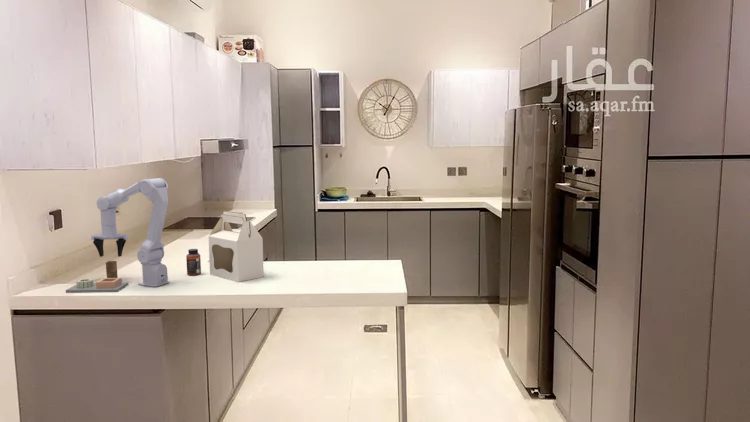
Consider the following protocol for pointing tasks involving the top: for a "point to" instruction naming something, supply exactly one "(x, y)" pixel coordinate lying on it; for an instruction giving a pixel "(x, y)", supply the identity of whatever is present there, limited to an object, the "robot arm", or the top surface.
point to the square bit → (111, 269)
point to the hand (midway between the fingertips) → (110, 256)
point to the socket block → (97, 285)
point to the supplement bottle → (193, 262)
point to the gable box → (235, 249)
